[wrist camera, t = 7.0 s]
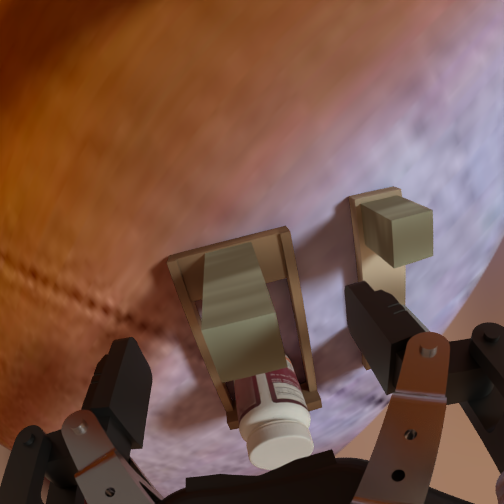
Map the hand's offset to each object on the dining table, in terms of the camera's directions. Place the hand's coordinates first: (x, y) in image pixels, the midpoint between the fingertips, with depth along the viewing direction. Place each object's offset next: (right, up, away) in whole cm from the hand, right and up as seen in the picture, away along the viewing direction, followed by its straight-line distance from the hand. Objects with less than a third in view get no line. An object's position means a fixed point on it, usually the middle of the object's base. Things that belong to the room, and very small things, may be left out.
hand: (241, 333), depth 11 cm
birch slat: (+10, 0, +11) cm, 15 cm away
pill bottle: (+1, -6, +13) cm, 15 cm away
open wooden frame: (0, -3, +11) cm, 12 cm away
